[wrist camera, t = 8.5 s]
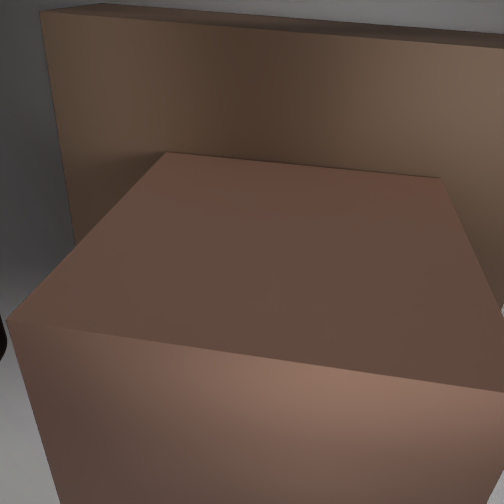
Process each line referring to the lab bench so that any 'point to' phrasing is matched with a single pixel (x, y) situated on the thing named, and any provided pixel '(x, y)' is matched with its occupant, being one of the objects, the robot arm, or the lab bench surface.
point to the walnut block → (277, 103)
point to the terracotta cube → (268, 343)
